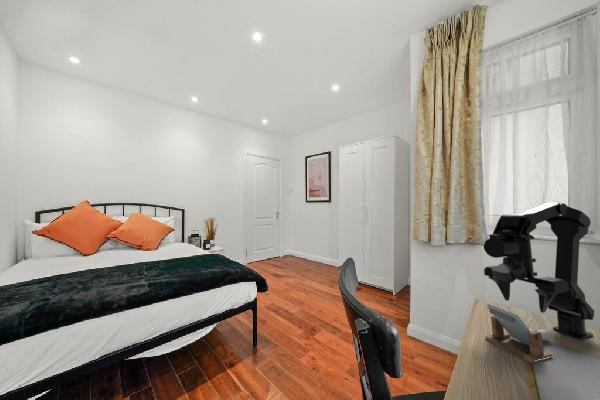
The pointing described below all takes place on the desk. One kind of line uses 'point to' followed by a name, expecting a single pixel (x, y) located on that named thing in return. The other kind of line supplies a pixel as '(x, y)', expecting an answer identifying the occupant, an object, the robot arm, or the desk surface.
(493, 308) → the pivoting flap
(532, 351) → the flap frame
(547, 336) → the rook chess piece
